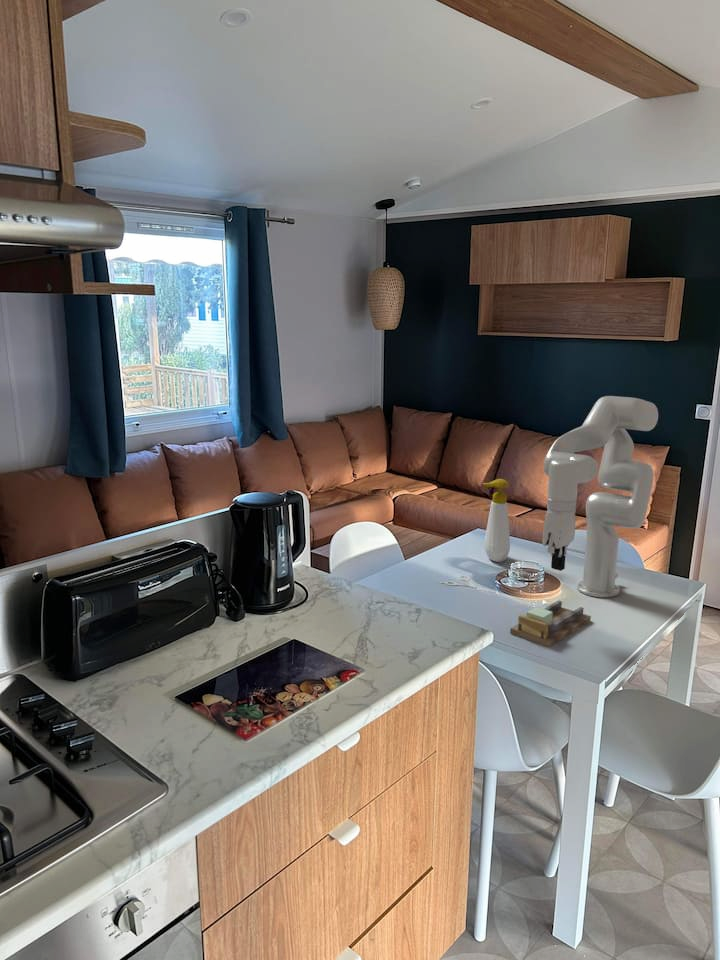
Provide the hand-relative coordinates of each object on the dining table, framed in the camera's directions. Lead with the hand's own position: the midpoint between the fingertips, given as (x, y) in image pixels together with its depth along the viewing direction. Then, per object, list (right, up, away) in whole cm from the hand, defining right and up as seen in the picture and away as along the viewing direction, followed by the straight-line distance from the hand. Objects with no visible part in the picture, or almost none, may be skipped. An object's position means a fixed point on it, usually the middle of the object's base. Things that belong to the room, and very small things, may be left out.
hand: (557, 568), depth 203 cm
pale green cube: (-6, -16, -3) cm, 17 cm away
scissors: (-18, -10, +32) cm, 38 cm away
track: (-1, -17, +3) cm, 17 cm away
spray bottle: (-7, -4, +58) cm, 58 cm away
